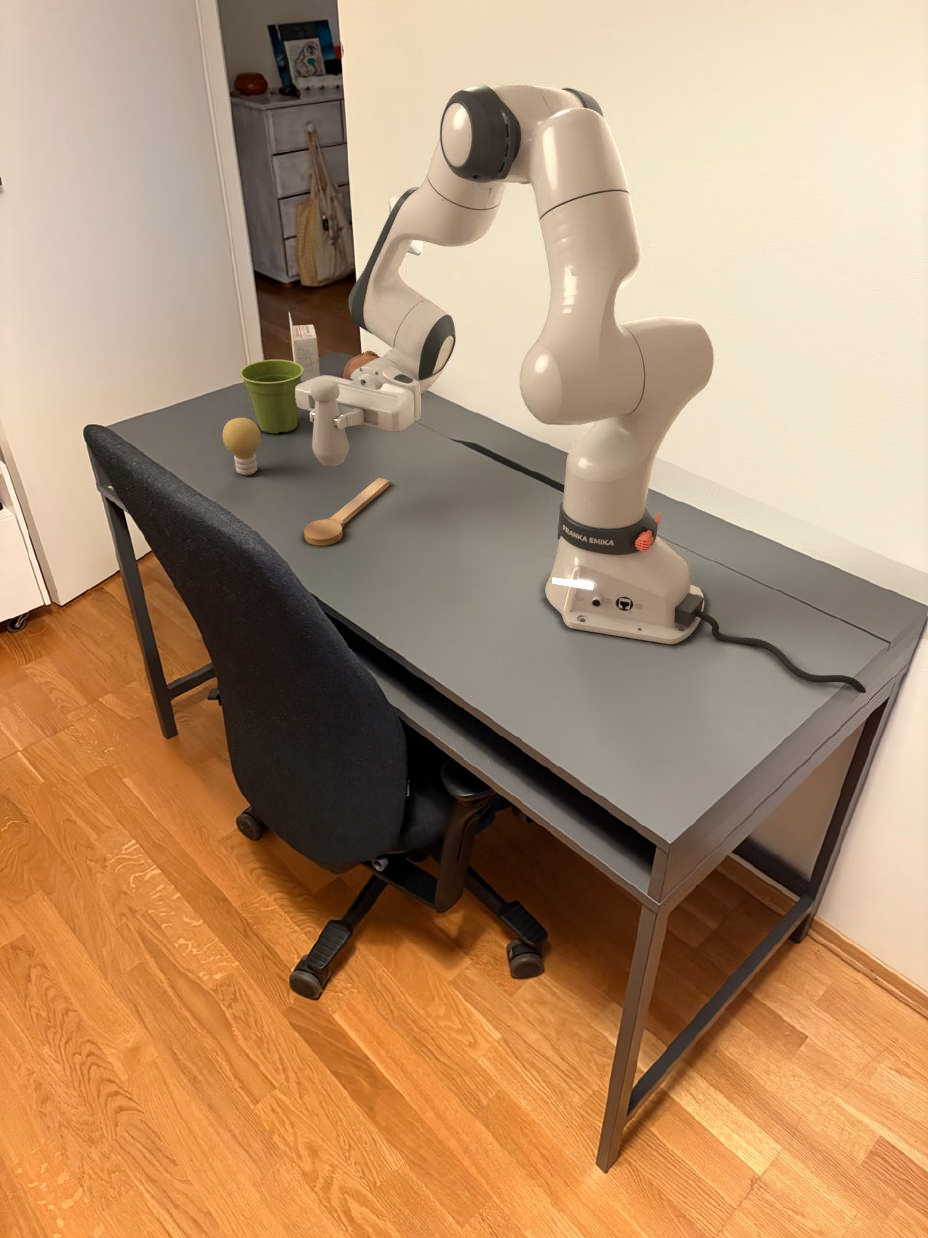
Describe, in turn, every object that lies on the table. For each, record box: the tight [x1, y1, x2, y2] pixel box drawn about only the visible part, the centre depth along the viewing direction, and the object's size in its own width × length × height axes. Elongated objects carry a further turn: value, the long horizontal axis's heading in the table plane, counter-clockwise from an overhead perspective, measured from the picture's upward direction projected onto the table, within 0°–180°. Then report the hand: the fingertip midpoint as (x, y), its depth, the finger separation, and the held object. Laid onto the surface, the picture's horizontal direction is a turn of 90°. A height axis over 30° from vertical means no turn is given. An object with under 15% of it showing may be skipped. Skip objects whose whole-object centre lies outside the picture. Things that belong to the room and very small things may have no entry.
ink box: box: [288, 311, 321, 383], centre depth 188 cm, size 8×5×15 cm, turn 13°
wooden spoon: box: [303, 477, 391, 547], centre depth 150 cm, size 22×6×1 cm, turn 154°
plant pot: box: [239, 359, 304, 434], centre depth 174 cm, size 12×12×11 cm
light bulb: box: [222, 417, 262, 476], centre depth 159 cm, size 6×6×10 cm
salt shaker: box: [311, 379, 350, 467], centre depth 141 cm, size 6×6×13 cm
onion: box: [342, 350, 381, 380], centre depth 186 cm, size 10×9×10 cm
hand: (324, 421), depth 140 cm, fingers closed on salt shaker, 3 cm apart
